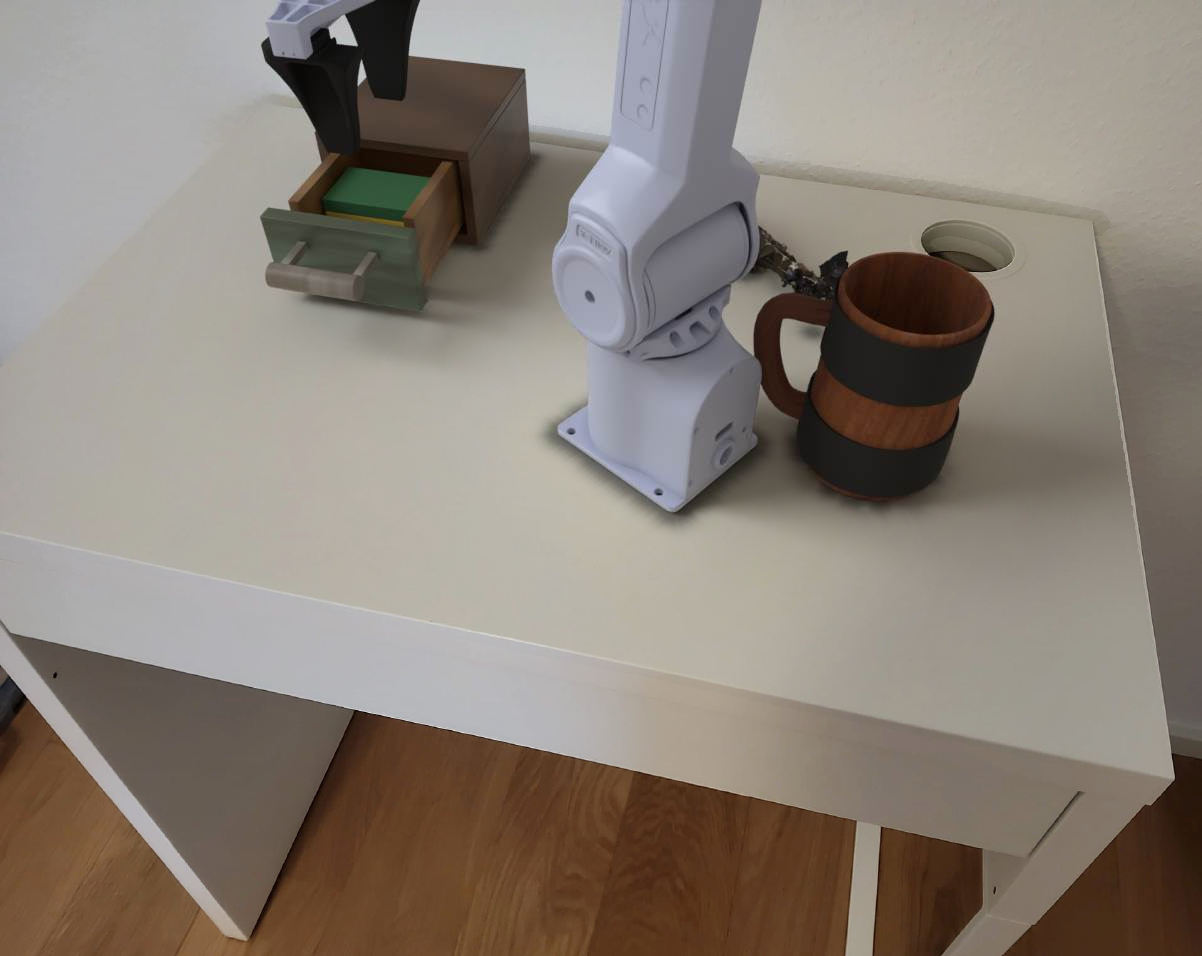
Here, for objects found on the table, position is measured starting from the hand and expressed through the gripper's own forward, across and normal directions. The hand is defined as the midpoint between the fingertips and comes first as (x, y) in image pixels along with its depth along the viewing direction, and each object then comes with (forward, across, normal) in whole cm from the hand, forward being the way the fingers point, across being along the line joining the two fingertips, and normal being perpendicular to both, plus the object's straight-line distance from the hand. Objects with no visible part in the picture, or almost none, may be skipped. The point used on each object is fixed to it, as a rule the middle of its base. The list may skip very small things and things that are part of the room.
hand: (367, 123), depth 61 cm
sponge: (+8, 0, 0) cm, 8 cm away
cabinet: (+10, -10, 0) cm, 14 cm away
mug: (+10, +12, +34) cm, 37 cm away
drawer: (+9, +3, 0) cm, 10 cm away
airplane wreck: (+10, -4, +26) cm, 28 cm away
